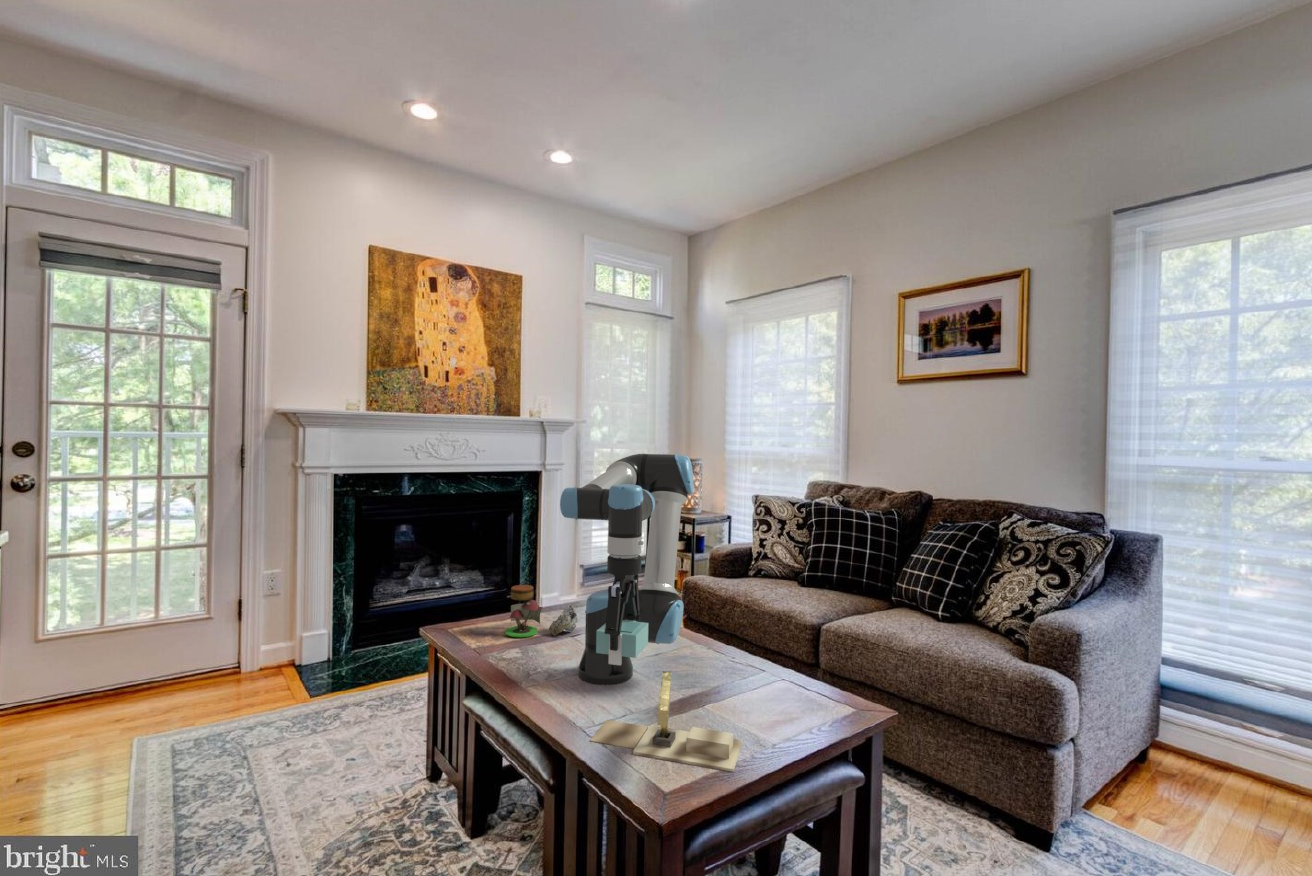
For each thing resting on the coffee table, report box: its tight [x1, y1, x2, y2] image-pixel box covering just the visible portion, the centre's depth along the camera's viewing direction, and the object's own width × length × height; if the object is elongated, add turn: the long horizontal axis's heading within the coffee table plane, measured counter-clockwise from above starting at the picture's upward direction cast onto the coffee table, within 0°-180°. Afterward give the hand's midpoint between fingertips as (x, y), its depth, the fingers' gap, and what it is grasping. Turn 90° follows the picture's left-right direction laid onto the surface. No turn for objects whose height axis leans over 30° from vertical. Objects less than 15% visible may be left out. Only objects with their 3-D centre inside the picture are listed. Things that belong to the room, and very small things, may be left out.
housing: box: [632, 724, 743, 772], centre depth 129 cm, size 21×12×4 cm, turn 73°
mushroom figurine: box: [504, 584, 544, 638], centre depth 202 cm, size 12×13×15 cm
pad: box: [589, 719, 649, 750], centre depth 135 cm, size 10×10×1 cm
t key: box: [657, 670, 672, 738], centre depth 131 cm, size 20×2×11 cm, turn 177°
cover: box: [596, 620, 649, 659], centre depth 135 cm, size 9×9×5 cm
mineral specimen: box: [548, 604, 579, 636], centre depth 203 cm, size 10×8×10 cm
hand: (622, 656), depth 135 cm, fingers closed on cover, 9 cm apart
